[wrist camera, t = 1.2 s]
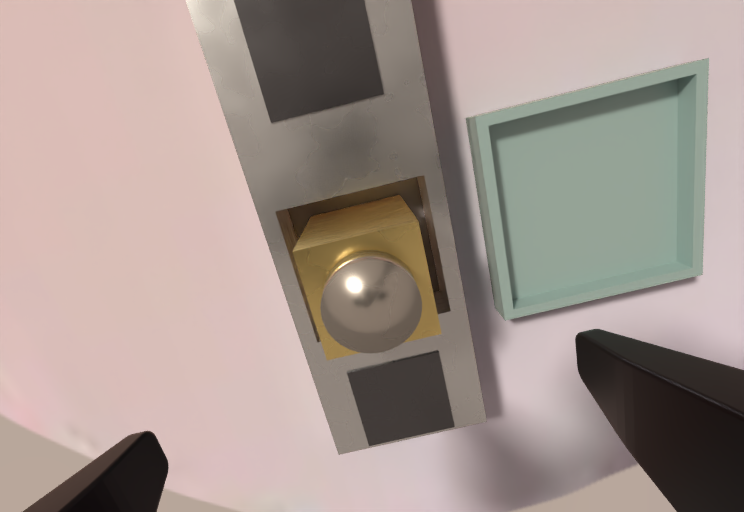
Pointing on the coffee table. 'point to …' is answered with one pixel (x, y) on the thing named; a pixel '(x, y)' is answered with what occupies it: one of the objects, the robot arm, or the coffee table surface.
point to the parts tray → (593, 189)
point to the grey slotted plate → (345, 185)
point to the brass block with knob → (367, 278)
